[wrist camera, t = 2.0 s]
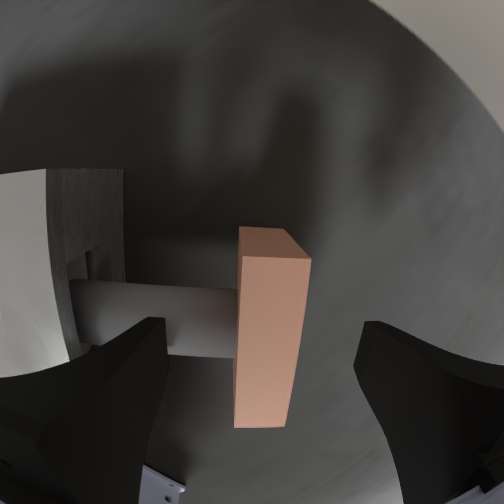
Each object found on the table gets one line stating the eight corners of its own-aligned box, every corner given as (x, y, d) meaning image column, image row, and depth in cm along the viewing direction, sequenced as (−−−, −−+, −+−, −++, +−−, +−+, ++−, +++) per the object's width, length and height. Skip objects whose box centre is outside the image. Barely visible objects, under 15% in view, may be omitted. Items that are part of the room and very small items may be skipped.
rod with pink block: (270, 359, 15) (284, 426, 10) (-7, 322, 14) (-48, 357, 9) (283, 228, 13) (311, 259, 8) (-25, 221, 12) (-78, 239, 7)
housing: (137, 369, 17) (103, 451, 10) (4, 340, 16) (-46, 388, 9) (124, 169, 14) (45, 168, 7) (-21, 181, 13) (-94, 195, 6)
